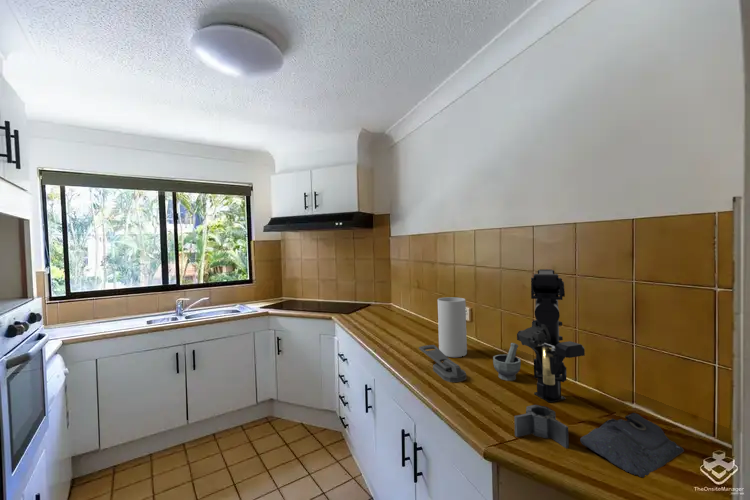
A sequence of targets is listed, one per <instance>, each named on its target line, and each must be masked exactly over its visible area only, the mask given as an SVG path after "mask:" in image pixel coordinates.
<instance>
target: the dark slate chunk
mask: <svg viewBox="0 0 750 500" xmlns="http://www.w3.org/2000/svg"><path fill="white" fill-rule="evenodd" d="M624 419H625V420H624ZM624 419H621V418H620V419H615V418H610V419H608V420H607V421H605V422H603V424H601V425H600V426H599V427H595V428H594V429H592V430H591V431H589V432H588V433H587V434H585V435H583V436H581V437H580V443H581V445H582V446H584V447H585V448H587V449H589V450H591V451H593V452H594V453H596V454H597V455H599V456H600V457H602V458H604V459H606V460H607V461H608V462H610V464H613V465H614V466H616V467H618V468H619V469H621V470H623V471H624V470H625V471H624V472H625V473H628V472H629V473H628V474H631V475H633V474H634V475H633V476H636V475H638V476H637V477H639V478H640V477H642V478H645V477H646V476H645V475H647V476H648V475H649V474H650V473H653V472H654V471H657V470H658V469H661V468H662V467H664V466H665V465H666V464H667V463H669V462H670V461H673V459H675V458H676V457H678V456H679V455H681V454H682V453H683V452H685V449H684V448H683V447H682V446H680V445H678V444H677V443H676V442H675V441H672V440H670V439H669V438H668V437H667V435H666V434H665V432H664V430H663V429H662V428H661V427H660V426H659V425H658V424H656V423H654V422H652V421H650V420H648V419H646V418H644V417H643V416H641V415H640V414H638V413H636V412H632V413H629V414H627V415H625V417H624Z"/></svg>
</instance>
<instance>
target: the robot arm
mask: <svg viewBox="0 0 750 500" xmlns="http://www.w3.org/2000/svg"><path fill="white" fill-rule="evenodd" d="M530 280H531V281H530V285H531V286H530V300H531V299H533V300H535V307H534V308H535V309H534V316H535V319H534V320H532V322H531V326H530V327H527V328H525V329H524V330H523V329H522V330H518V332H517V333H516V340H517V341H519V342H520V343H521V345H522V346H527V347H528V348H530V349H532V350H533V352H534V353H535V358H533V378H534V379H537V380H536V381H537V382H536V391H535V392H534V391H533V392H534V394H533V395H535V396H536V397H539V398H540V399H542V400H544V401H546V402H547V403H553V402H559V401H564V400H566V397H565V396H563V395H562V383H565V382H566V381H567V367H566V366H565V362H564V361H565V358H567V359H568V358H569V359H570V358H571V359H572V358H579V357H582V356H583V357H584V356H585V355H586V353H585V352H586V350H585V347H584V346H583V344H581V343H577V342H574V341H571V340H569V341H564V342H563V340H564V338H563V336H561V335H560V327H562V326H563V321H559V319H560V316H561V315H560V309H559V301H563V297H564V298H565V296H566V295H565V282H564V280H563V279H562V277H559V274H558V273H555V270H554V269H545V268H544V269H538V270H537V273H534V274H533V277H531V278H530ZM560 341H561V342H560ZM544 346H547V347H552V349H551V350H552V351H546V353H547V354H548V355H549V356H550V367H551V374H552V375H555V385H546V384H544V383H543V364H542V347H544ZM567 382H568V381H567Z"/></svg>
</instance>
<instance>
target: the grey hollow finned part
mask: <svg viewBox="0 0 750 500" xmlns="http://www.w3.org/2000/svg"><path fill="white" fill-rule="evenodd" d="M525 409H526V410H525V413H523V414H518V415H514V417H513V418H514V419H513V420H514V436H515V437H516V438H520V437H523V436H528V435H533V436H535V437H539V438H543V439H552V440H553V441H554V442H556V443H558V444H559V445H561V446H562V447H563V448H565V449H569V448H570V447H569V445H570V443H569V441H570V439H569V426H568V425H566V424H564V423H562V422H561V421H559V420H557V419H556V418H557V416H556V415H557V414H556V411H554V410H553V409H551V408H550V407H548V406H545V405H539V404H532V405H528V406H527V405H526V408H525Z"/></svg>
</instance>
